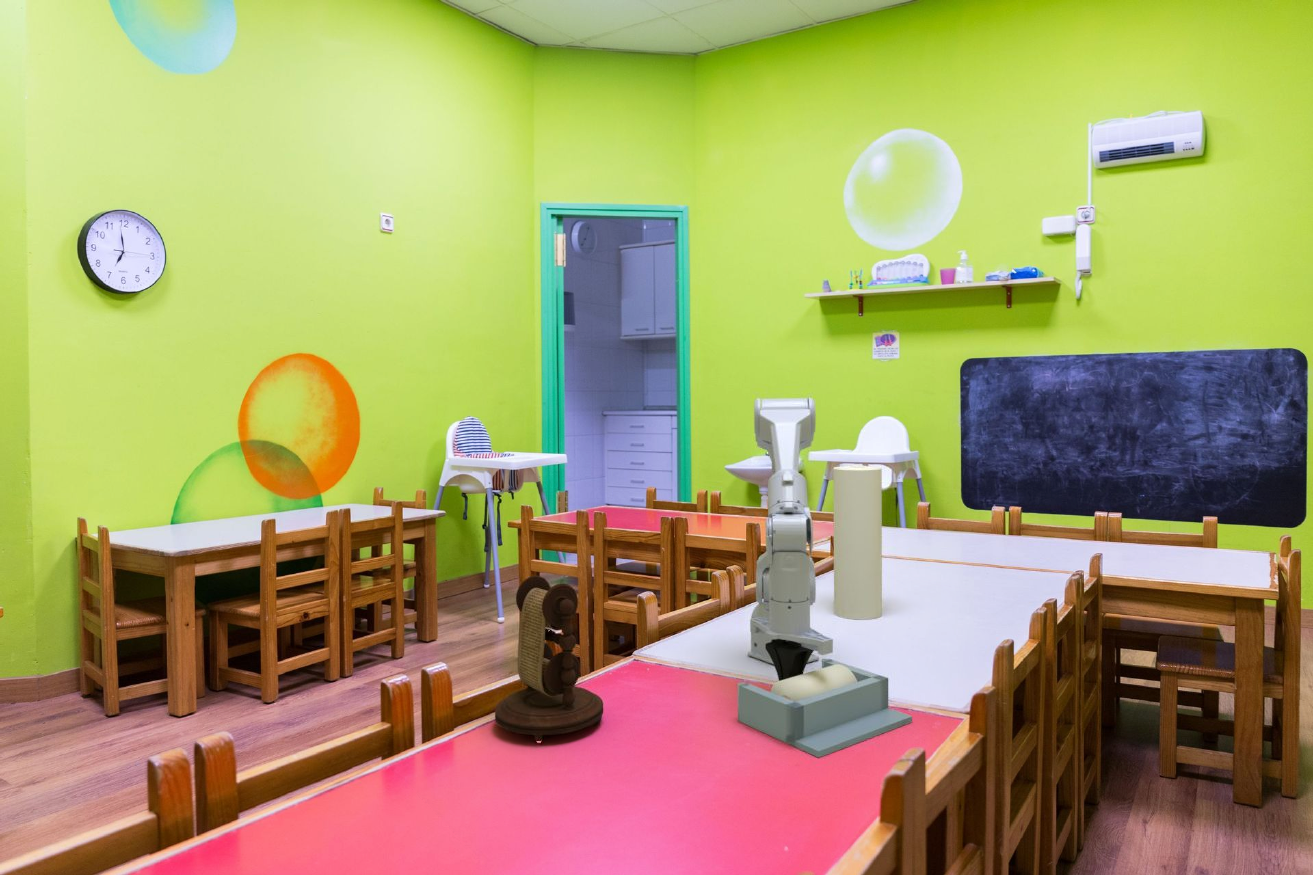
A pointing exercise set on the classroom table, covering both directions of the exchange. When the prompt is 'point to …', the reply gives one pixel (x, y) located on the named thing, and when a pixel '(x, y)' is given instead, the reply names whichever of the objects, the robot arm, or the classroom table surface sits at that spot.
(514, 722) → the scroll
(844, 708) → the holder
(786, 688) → the cylinder
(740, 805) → the classroom table surface
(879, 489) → the cylinder container
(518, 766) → the classroom table surface
